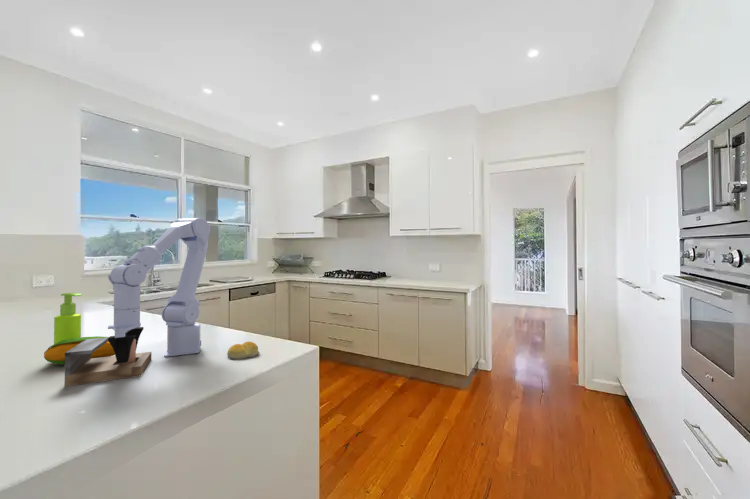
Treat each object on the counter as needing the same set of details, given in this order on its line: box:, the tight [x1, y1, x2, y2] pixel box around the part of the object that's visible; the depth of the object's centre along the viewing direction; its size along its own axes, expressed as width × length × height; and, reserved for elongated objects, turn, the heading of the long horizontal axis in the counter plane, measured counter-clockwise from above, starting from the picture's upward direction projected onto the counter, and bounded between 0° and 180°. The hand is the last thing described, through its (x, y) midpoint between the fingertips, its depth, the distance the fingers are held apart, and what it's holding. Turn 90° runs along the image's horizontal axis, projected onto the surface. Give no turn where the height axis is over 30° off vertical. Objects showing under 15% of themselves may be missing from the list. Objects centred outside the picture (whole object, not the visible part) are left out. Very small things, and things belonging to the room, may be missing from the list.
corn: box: [43, 335, 115, 366], centre depth 95 cm, size 7×8×20 cm
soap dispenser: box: [53, 292, 83, 345], centre depth 97 cm, size 6×7×20 cm
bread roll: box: [226, 341, 260, 360], centre depth 100 cm, size 8×9×4 cm
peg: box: [119, 339, 137, 364], centre depth 87 cm, size 4×4×8 cm
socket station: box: [63, 336, 152, 387], centre depth 86 cm, size 15×14×8 cm
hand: (126, 358), depth 87 cm, fingers open, 7 cm apart
